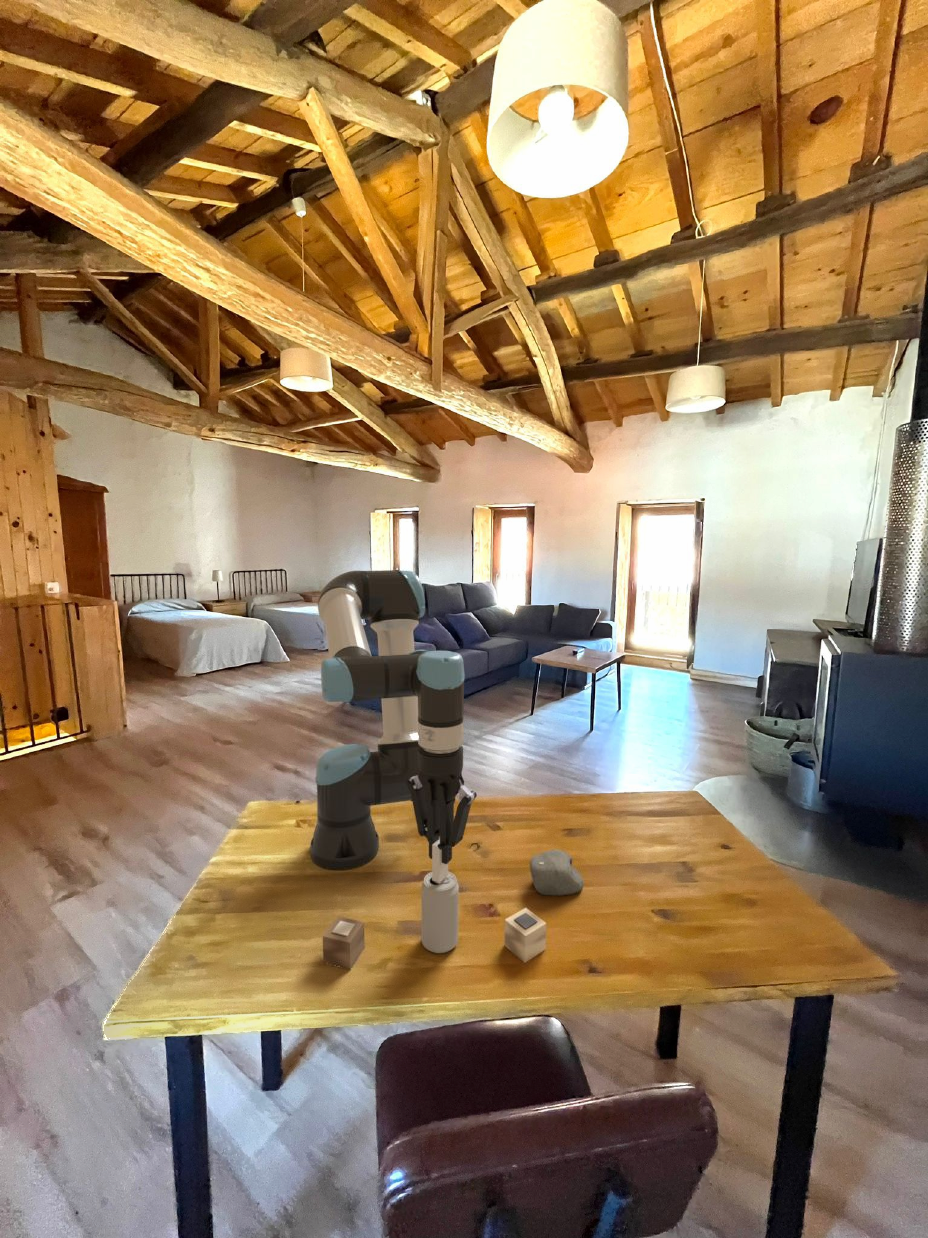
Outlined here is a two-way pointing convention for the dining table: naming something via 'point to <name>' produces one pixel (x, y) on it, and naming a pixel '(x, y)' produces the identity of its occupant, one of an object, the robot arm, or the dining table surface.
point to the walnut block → (343, 942)
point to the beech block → (525, 934)
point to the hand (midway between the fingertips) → (440, 877)
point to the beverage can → (440, 913)
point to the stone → (555, 873)
